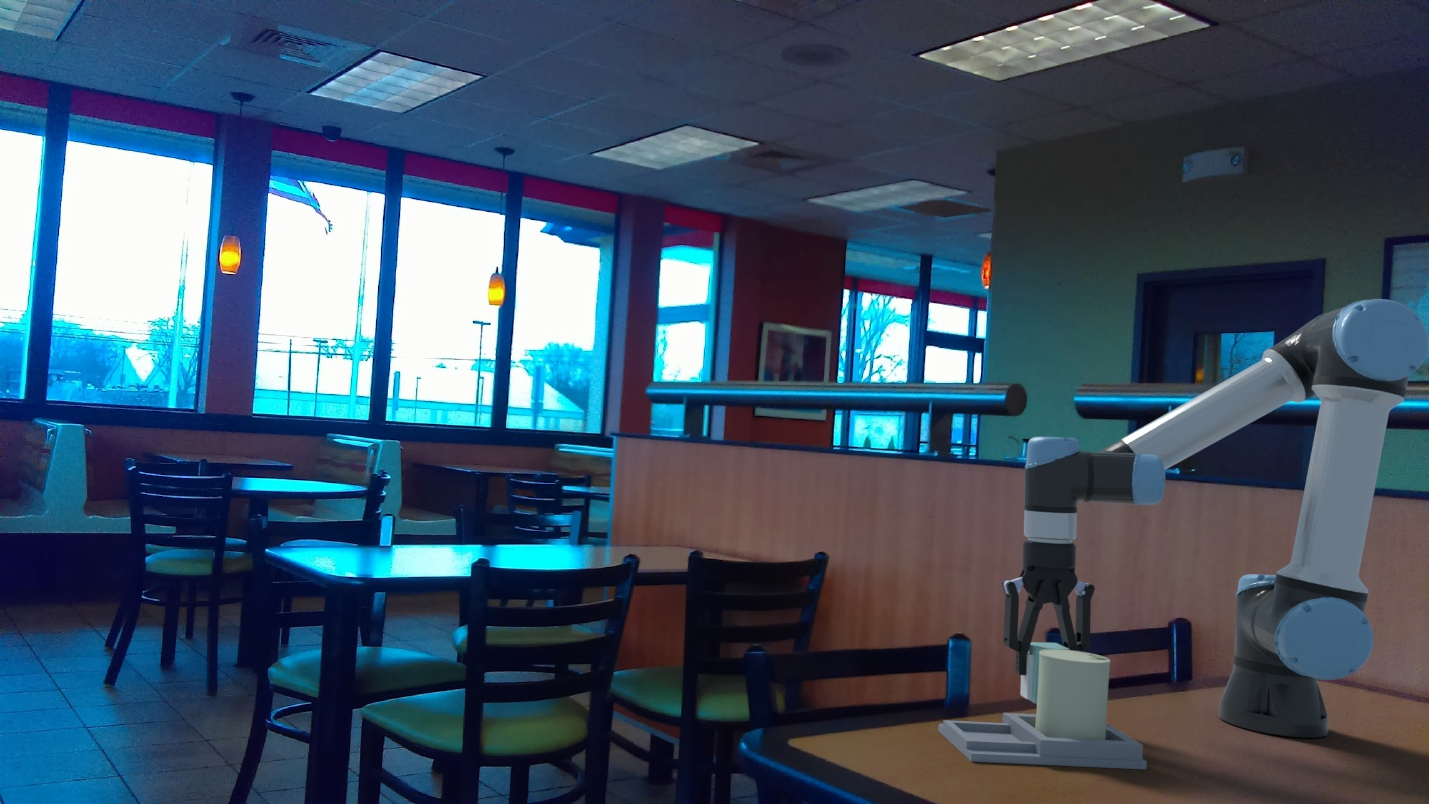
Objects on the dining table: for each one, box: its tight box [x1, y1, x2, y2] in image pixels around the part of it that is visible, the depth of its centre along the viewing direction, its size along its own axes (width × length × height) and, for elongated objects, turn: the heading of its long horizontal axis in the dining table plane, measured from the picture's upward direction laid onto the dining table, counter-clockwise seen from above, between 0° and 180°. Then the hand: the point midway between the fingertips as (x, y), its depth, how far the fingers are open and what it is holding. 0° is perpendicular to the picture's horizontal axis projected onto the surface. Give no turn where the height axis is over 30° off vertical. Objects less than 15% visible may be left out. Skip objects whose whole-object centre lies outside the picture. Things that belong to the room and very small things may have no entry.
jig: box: [937, 712, 1148, 770], centre depth 144 cm, size 23×14×3 cm, turn 95°
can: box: [1035, 649, 1111, 740], centre depth 145 cm, size 9×9×12 cm
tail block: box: [1027, 641, 1070, 705], centre depth 161 cm, size 5×5×8 cm
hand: (1044, 697), depth 160 cm, fingers closed on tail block, 5 cm apart
